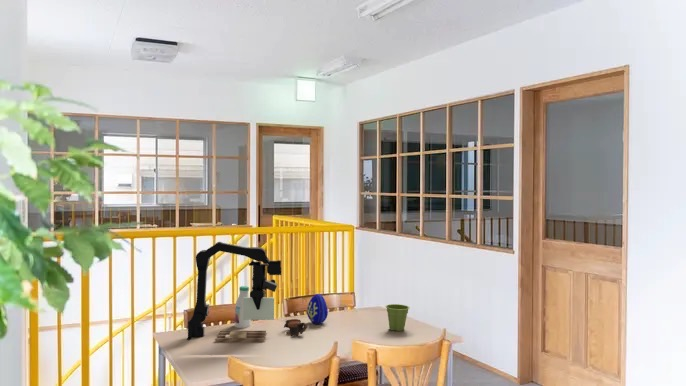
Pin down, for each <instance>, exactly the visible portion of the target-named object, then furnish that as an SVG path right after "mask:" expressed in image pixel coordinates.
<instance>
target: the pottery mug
mask: <svg viewBox="0 0 686 386" xmlns="http://www.w3.org/2000/svg"><path fill="white" fill-rule="evenodd" d="M301 321H302V320H300V319H297V318H294V319H293V318H292V319H287V320H285V323H284V324H283V325H284V326H283V329H284V328H287V329H289V331H286V335H288V336H290V337H299V336H300V335H302V334H303V333H304V332H306V330H307V328H308V324H307V323H306V322H301Z"/></svg>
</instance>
